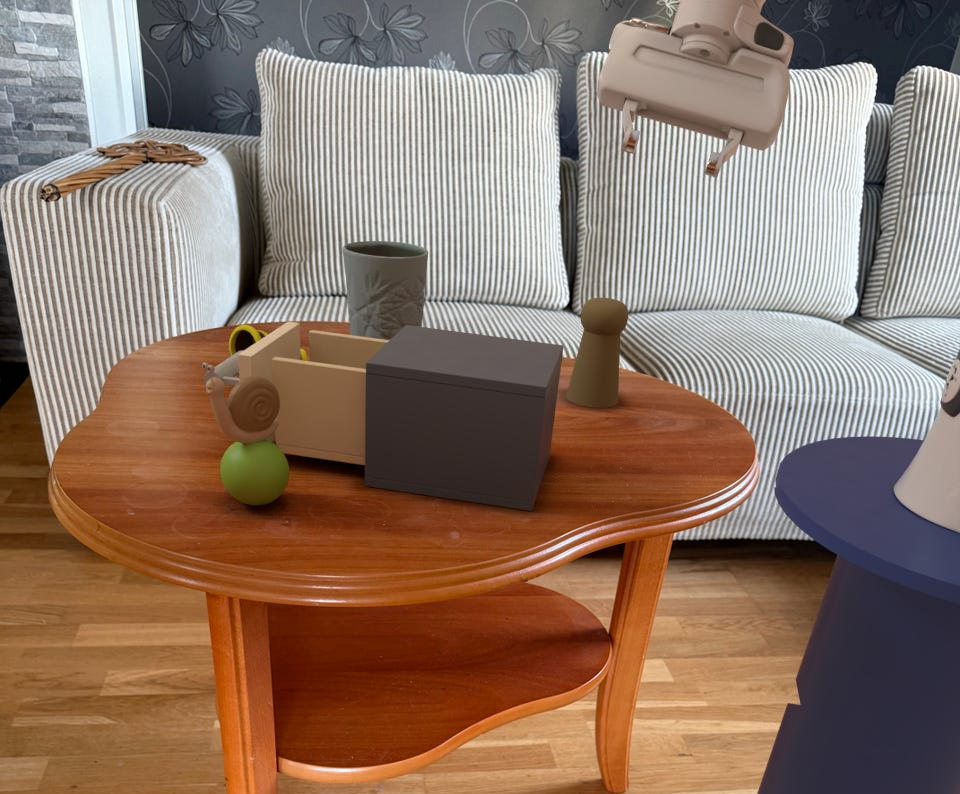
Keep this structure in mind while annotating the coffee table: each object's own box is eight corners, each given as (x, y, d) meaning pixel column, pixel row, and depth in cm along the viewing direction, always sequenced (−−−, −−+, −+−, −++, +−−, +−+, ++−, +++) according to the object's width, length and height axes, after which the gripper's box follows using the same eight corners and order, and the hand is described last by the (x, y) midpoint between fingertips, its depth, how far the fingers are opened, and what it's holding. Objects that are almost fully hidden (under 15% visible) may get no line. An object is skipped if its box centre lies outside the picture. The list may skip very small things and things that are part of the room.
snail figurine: (199, 502, 73) (183, 354, 67) (264, 483, 77) (256, 341, 71) (238, 526, 70) (226, 374, 64) (304, 504, 74) (299, 359, 68)
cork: (601, 411, 100) (617, 309, 94) (555, 397, 103) (568, 297, 97) (627, 400, 104) (644, 301, 98) (583, 386, 107) (597, 290, 101)
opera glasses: (308, 392, 100) (315, 346, 98) (265, 389, 97) (271, 342, 95) (267, 367, 106) (273, 324, 104) (225, 364, 103) (230, 319, 101)
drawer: (197, 448, 80) (187, 347, 75) (249, 407, 90) (243, 315, 85) (393, 477, 78) (395, 376, 73) (424, 432, 88) (428, 339, 83)
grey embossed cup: (422, 365, 109) (426, 259, 102) (338, 358, 108) (337, 252, 102) (425, 341, 117) (429, 243, 111) (347, 336, 117) (347, 236, 110)
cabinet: (364, 486, 78) (365, 362, 73) (401, 436, 89) (405, 324, 83) (531, 511, 77) (546, 387, 71) (549, 457, 87) (563, 345, 82)
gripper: (620, -8, 95) (578, 118, 95) (809, 43, 93) (766, 171, 93) (616, 33, 101) (577, 151, 101) (793, 81, 99) (753, 201, 100)
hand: (669, 161), depth 97 cm, fingers open, 8 cm apart
